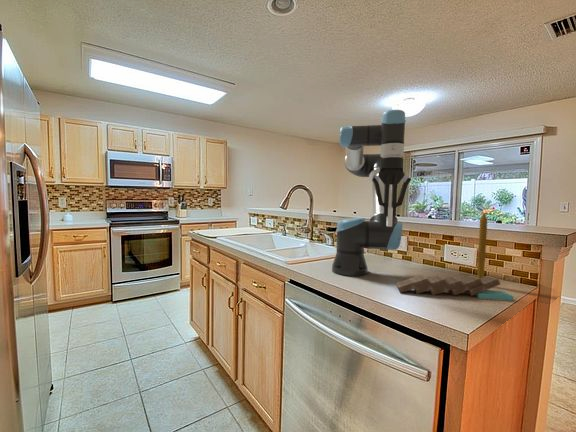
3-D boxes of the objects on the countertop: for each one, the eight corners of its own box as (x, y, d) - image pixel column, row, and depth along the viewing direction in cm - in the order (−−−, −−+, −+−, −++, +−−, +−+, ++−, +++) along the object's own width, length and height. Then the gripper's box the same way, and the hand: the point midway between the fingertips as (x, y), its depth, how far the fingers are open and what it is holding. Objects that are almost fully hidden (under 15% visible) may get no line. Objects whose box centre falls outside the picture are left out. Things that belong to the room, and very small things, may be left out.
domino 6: (478, 293, 92) (513, 296, 90) (471, 288, 97) (504, 291, 95) (478, 299, 92) (513, 302, 91) (471, 294, 98) (504, 296, 96)
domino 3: (430, 289, 95) (461, 280, 93) (425, 285, 100) (454, 276, 98) (432, 295, 95) (463, 286, 93) (427, 290, 100) (456, 281, 98)
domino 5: (469, 290, 93) (498, 278, 93) (460, 286, 98) (487, 275, 98) (471, 295, 93) (500, 284, 93) (462, 291, 98) (489, 280, 98)
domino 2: (415, 288, 95) (445, 278, 93) (411, 283, 100) (440, 274, 98) (417, 293, 95) (447, 284, 93) (413, 288, 100) (442, 279, 98)
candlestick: (475, 281, 111) (490, 285, 106) (469, 283, 108) (484, 287, 104) (479, 211, 109) (494, 212, 105) (473, 212, 106) (489, 212, 102)
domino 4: (452, 289, 94) (480, 278, 93) (443, 286, 99) (470, 275, 99) (454, 295, 93) (482, 283, 93) (445, 291, 99) (472, 280, 99)
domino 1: (398, 287, 96) (427, 278, 94) (395, 283, 101) (423, 274, 99) (400, 293, 96) (430, 283, 94) (397, 288, 101) (425, 279, 99)
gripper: (373, 156, 95) (371, 226, 96) (414, 155, 92) (411, 227, 94) (370, 159, 102) (368, 224, 104) (409, 158, 100) (406, 225, 101)
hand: (389, 226), depth 99 cm, fingers closed
